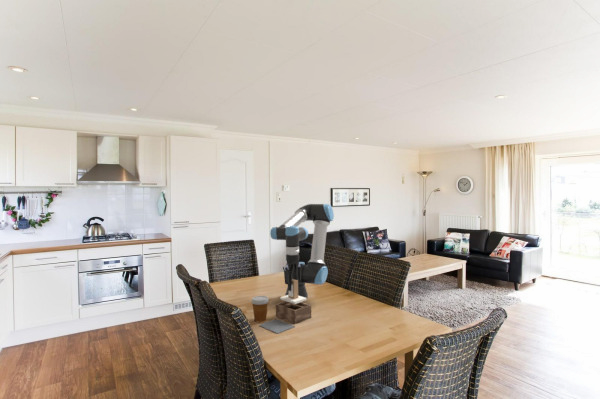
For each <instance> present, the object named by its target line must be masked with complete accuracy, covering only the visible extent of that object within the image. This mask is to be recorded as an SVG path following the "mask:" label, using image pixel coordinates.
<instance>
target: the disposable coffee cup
mask: <svg viewBox="0 0 600 399" xmlns="http://www.w3.org/2000/svg"><path fill="white" fill-rule="evenodd" d="M269 299H270V298H269V297H268V296H265V295H257V296H253V297H252V299H251V303H252V310H253V318H254V322H256V323H257V322H258V323H261V322H265V321H266V320H267V315H268V314H267V313H268V308H269V307H268V306H269Z"/></svg>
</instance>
